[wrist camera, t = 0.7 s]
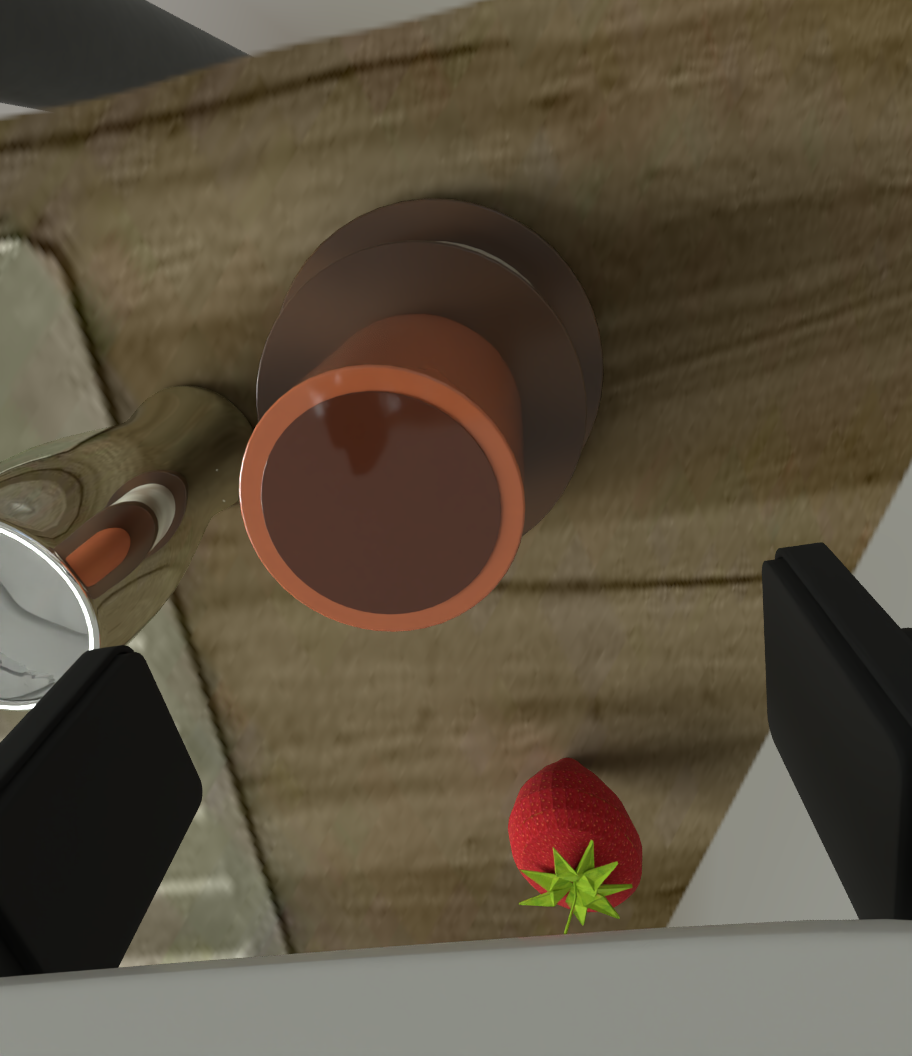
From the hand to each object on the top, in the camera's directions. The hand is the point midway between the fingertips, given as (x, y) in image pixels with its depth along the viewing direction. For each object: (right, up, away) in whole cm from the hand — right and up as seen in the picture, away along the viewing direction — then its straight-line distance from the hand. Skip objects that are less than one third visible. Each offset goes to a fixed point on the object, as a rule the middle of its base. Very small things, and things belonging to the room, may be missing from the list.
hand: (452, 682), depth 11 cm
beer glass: (-12, +6, +23) cm, 27 cm away
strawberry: (+6, -11, +30) cm, 32 cm away
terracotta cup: (-1, +6, +14) cm, 16 cm away
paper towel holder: (-1, +9, +21) cm, 23 cm away
